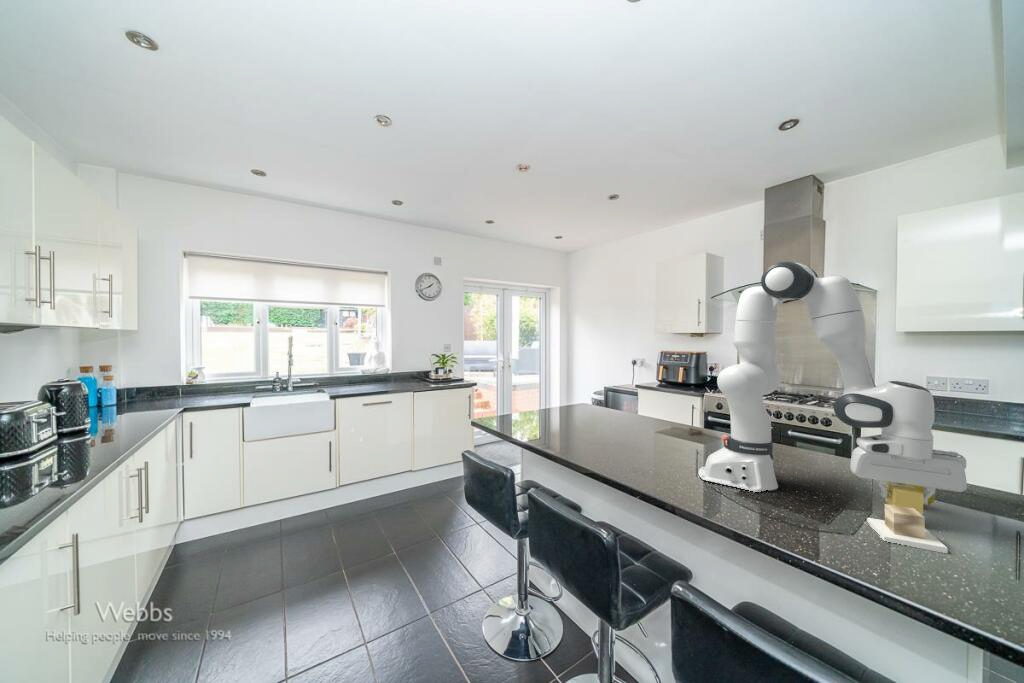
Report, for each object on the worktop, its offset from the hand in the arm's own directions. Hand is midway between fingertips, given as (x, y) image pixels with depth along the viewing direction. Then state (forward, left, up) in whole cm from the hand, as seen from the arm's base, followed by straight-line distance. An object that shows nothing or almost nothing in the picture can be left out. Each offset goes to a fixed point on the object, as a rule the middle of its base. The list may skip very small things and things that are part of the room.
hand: (903, 500), depth 91 cm
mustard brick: (0, 0, -2) cm, 2 cm away
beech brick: (-3, -9, -4) cm, 11 cm away
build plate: (-3, -9, -6) cm, 11 cm away
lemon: (+8, +13, -6) cm, 16 cm away
